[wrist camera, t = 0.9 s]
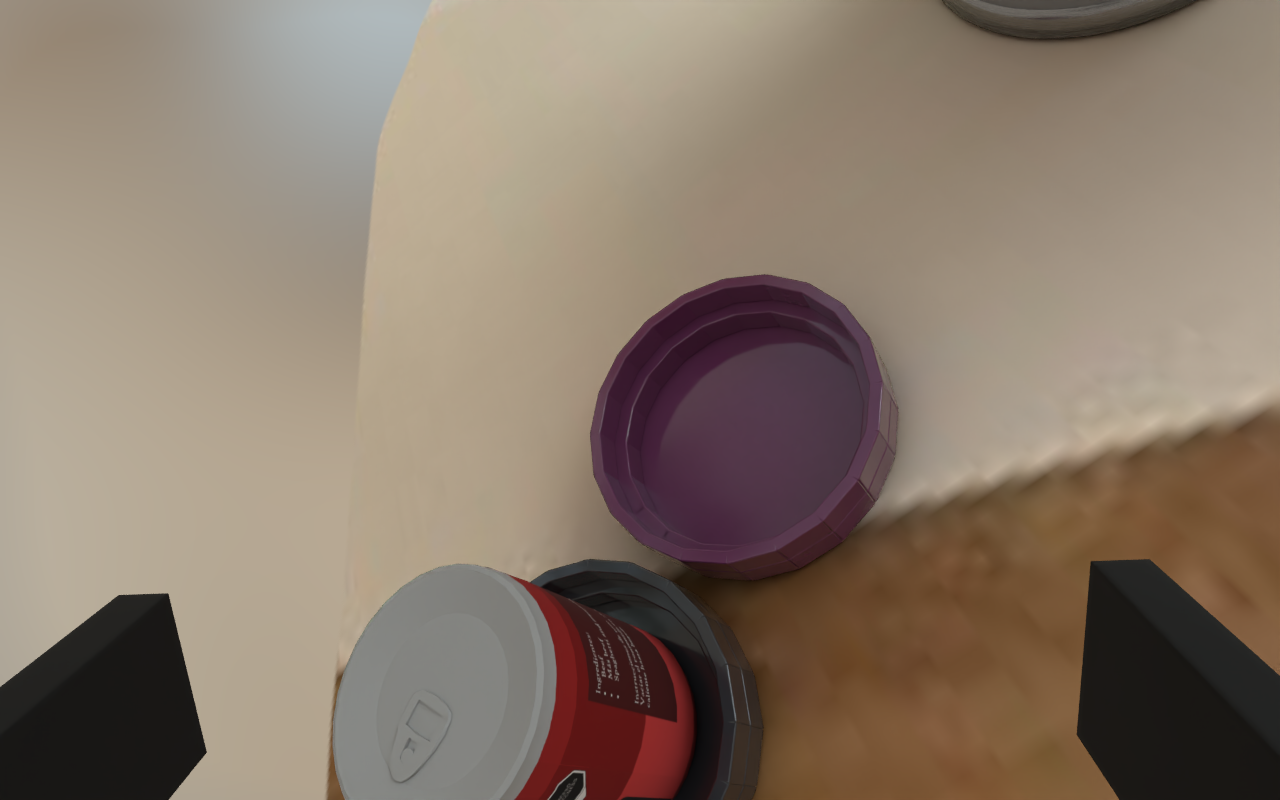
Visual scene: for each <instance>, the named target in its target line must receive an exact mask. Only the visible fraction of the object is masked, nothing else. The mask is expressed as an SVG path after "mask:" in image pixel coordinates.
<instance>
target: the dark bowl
mask: <svg viewBox="0 0 1280 800" xmlns="http://www.w3.org/2000/svg"><path fill="white" fill-rule="evenodd" d="M530 583H532V584H535V585H537V586H539V587H542V588H544V589H546V590H549V591H551V592H554V593H556V594H558V595H561V596H563V597H566V598H568V599H570V600H573V601H575V602H577V603H580V604H582V605H585V606H587V607H589V608H592V609H594V610H597V611H599V612H601V613H604V614H606V615H609V616H611V617H613V618H616V619H618V620H620V621H623V622H625V623H628V624H630V625H632V626H635V627H637V628H640V629H642V630H644V631H646V632H648V633H649V634H651V635H652V636H654V637H655V638H657V639H659V640H660V641H661V642H662V643H663V644H664V645H665V646H666V647H667V648H668V649H669V650H670V651H671V653H672V654H673V655H674V657H675V658H676V660H677V662H678V663H679V665H680V667H681V668H682V670H683V672H684V673H685V675H686V677H687V679H688V682H689V685H690V687H691V690H692V693H693V697H694V702H695V708H696V713H697V737H696V744H695V750H694V756H693V759H692V762H691V765H690V768H689V771H688V775H687V777H686V779H685V781H684V783H683V785H682V786H681V788H680V790H679V792H678V794H677V795H676V797H675V798H674V799H673V800H752V798H753V795H754V793H755V791H756V786H757V782H758V774H759V765H760V756H761V747H762V738H763V730H762V729H763V722H762V716H761V710H760V705H759V699H758V693H757V687H756V681H755V676H754V675H753V671H752V669H751V667H750V665H749V663H748V661H747V659H746V657H745V655H744V653H743V651H742V649H741V647H740V645H739V643H738V641H737V639H736V637H735V635H734V633H733V631H732V630H731V628H730V627H729V626H728V625H727V624H726V623H725V622H724V621H723V620H722V619H721V618H720V617H719V616H718V615H717V614H716V613H715V612H714V611H713V610H712V609H711V608H710V607H709V606H708V605H707V604H706V603H705V602H704V601H703V600H702V599H701V598H700V597H699V596H698V595H696V594H694V593H693V592H691V591H689V590H687V589H685V588H683V587H681V586H680V585H678V584H676V583H674V582H672V581H670V580H668V579H666V578H664V577H662V576H660V575H658V574H655V573H653V572H651V571H649V570H647V569H645V568H643V567H641V566H638V565H636V564H634V563H631V562H624V561H610V560H596V559H589V560H588V559H587V560H583V561H580V562H576V563H573V564H569V565H566V566H562V567H559V568H555V569H552V570H548V571H547V572H545V573H543V574H542V575H540V576H539V577H537V578H536V579H534V580H533V581H531V582H530Z"/></svg>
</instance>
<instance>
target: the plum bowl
mask: <svg viewBox="0 0 1280 800" xmlns="http://www.w3.org/2000/svg"><path fill="white" fill-rule="evenodd" d="M897 424H898V406H897V402H896V399H895V396H894V392H893V389H892V385H891V382H890V379H889V375H888V372H887V369H886V367H885V365H884V363H883V361H882V359H881V357H880V356H879V354H878V352H877V350H876V348H875V346H874V344H873V342H872V341H871V339H870V337H869V336H868V334H867V333H866V332H865V331H864V329H863V328H862V327H861V325H860V324H859V323H858V321H857V320H856V319H855V318H854V316H853V315H852V314H851V312H850V311H849V310H848V309H847V307H846V306H845V305H844V304H843V303H841V302H839V301H838V300H836V299H834V298H833V297H831V296H829V295H828V294H826V293H824V292H823V291H821V290H819V289H818V288H816V287H814V286H813V285H811V284H809V283H807V282H802V281H797V280H792V279H787V278H782V277H777V276H772V275H765V274H764V275H754V276H745V277H735V278H726V279H724V280H723V279H722V280H719V281H716V282H714V283H711V284H709V285H706V286H704V287H701V288H699V289H696V290H694V291H691V292H688V293H686V294H684V295H682V296H680V297H679V298H677V299H676V300H675V301H673V302H672V303H670V304H669V305H668V306H666V307H665V308H663V309H662V310H661V311H659V312H658V313H656V314H655V315H654V316H652V317H651V318H650V319H648V320H647V321H646V322H645V323H644V324H643V325H642V327H641V328H640V329H639V330H638V331H637V332H636V334H635V335H634V336H633V337H632V338H631V339H630V341H629V342H628V343H627V344H626V345H625V346H624V348H623V349H622V350H621V351H620V352H619V354H618V355H617V357H616V359H615V361H614V363H613V365H612V367H611V369H610V371H609V373H608V375H607V377H606V379H605V381H604V383H603V385H602V387H601V389H600V391H599V394H598V398H597V402H596V407H595V412H594V417H593V422H592V427H591V432H590V434H591V435H590V440H591V451H592V462H593V473H594V477H595V479H596V482H597V484H598V486H599V488H600V491H601V493H602V495H603V497H604V500H605V502H606V504H607V506H608V509H609V511H610V513H611V514H612V515H613V516H614V517H615V518H616V519H617V520H618V521H619V522H620V523H621V524H622V525H623V526H624V527H625V528H626V529H627V531H628V532H629V533H630V534H631V535H632V536H633V537H634V538H635V539H636V540H637V541H638V542H640V543H641V544H643V545H644V546H646V547H648V548H650V549H651V550H653V551H655V552H657V553H658V554H660V555H662V556H663V557H665V558H667V559H669V560H670V561H673V562H675V563H677V564H679V565H681V566H684V567H686V568H688V569H690V570H692V571H695V572H697V573H699V574H701V575H703V576H707V577H711V578H724V579H737V580H750V581H751V580H757V579H761V578H765V577H769V576H773V575H777V574H781V573H785V572H789V571H793V570H797V569H799V568H802V567H803V566H805V565H806V564H808V563H810V562H811V561H813V560H814V559H816V558H817V557H819V556H821V555H822V554H824V553H825V552H827V551H829V550H830V549H832V548H833V547H835V546H837V545H838V544H840V543H841V542H842V540H844V539H845V538H846V537H847V536H848V535H849V533H850V532H851V531H852V530H853V529H854V528H855V526H856V525H857V524H858V523H859V522H860V521H861V519H862V518H863V517H864V516H865V515H866V514H867V512H868V511H869V510H870V509H871V508H872V507H873V505H874V504H875V502H876V501H877V499H878V497H879V494H880V492H881V490H882V487H883V485H884V482H885V480H886V478H887V475H888V473H889V471H890V468H891V466H892V463H893V461H894V459H895V457H894V456H895V454H896V439H897Z"/></svg>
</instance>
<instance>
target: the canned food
mask: <svg viewBox="0 0 1280 800" xmlns="http://www.w3.org/2000/svg"><path fill="white" fill-rule="evenodd" d="M696 737H697V713H696V708H695V702H694V697H693V693H692V690H691V687H690V685H689V682H688V679H687V677H686V675H685V673H684V672H683V670H682V668H681V667H680V665H679V663H678V662H677V660H676V658H675V657H674V655H673V654H672V653H671V651H670V650H669V649H668V648H667V647H666V646H665V645H664V644H663V643H662V642H661V641H660V640H659V639H657V638H655V637H654V636H652V635H651V634H649V633H648V632H646V631H644V630H642V629H640V628H637V627H635V626H632V625H630V624H628V623H625V622H623V621H620V620H618V619H616V618H613V617H611V616H609V615H606V614H604V613H601V612H599V611H597V610H594V609H592V608H589V607H587V606H585V605H582V604H580V603H577V602H575V601H573V600H570V599H568V598H566V597H563V596H561V595H558V594H556V593H554V592H551V591H549V590H546V589H544V588H542V587H539V586H537V585H535V584H532V583H530V582H527V581H525V580H522V579H519V578H516V577H513V576H511V575H508V574H506V573H503V572H500V571H497V570H494V569H492V568H489V567H481V566H478V565H469V564H454V565H448V566H443V567H438V568H436V569H433V570H431V571H428V572H426V573H424V574H421V575H419V576H418V577H416V578H415V579H413V580H412V581H410V582H409V583H407V584H406V585H404V586H403V587H401V588H400V589H399V590H398V591H397V592H396V593H395V594H394V595H393V596H391V597H390V598H389V599H388V600H387V601H386V602H385V603H384V604H383V605H382V607H381V608H380V609H379V610H378V612H377V613H376V614H375V615H374V617H373V618H372V619H371V620H370V622H369V623H368V625H367V626H366V628H365V630H364V631H363V633H362V635H361V636H360V638H359V640H358V641H357V643H356V645H355V647H354V649H353V652H352V654H351V656H350V659H349V661H348V663H347V665H346V668H345V671H344V674H343V677H342V681H341V684H340V688H339V691H338V694H337V701H336V707H335V713H334V719H333V753H334V761H335V769H336V774H337V777H338V780H339V784H340V787H341V790H342V794H343V796H344V798H345V800H673V799H674V798H675V797H676V795H677V794H678V792H679V790H680V788H681V786H682V785H683V783H684V781H685V779H686V777H687V775H688V771H689V768H690V765H691V762H692V759H693V756H694V750H695V744H696Z"/></svg>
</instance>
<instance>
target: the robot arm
mask: <svg viewBox="0 0 1280 800" xmlns="http://www.w3.org/2000/svg"><path fill="white" fill-rule="evenodd" d="M942 1H943V2H944V3H945V4H946V5H947V6H948V7H949V8H950V9H951V10H953V11H954V12H955V13H956V14H957V15H959V16H961V17H962V18H964V19H965V20H967V21H969V22H971V23H973V24H975V25H977V26H979V27H982V28H985V29H988V30H990V31H993V32H997V33H1001V34H1006V35H1010V36H1017V37H1025V38H1040V39H1055V38H1072V37H1082V36H1089V35H1095V34H1101V33H1106V32H1110V31H1115V30H1119V29H1123V28H1127V27H1130V26H1133V25H1137V24H1140V23H1144V22H1146V21H1149V20H1152V19H1155V18H1157V17H1160V16H1163V15H1165V14H1168V13H1170V12H1172V11H1175V10H1177V9H1179V8H1181V7H1184V6H1186V5H1188V4H1190V3H1192V2H1194V1H1196V0H942ZM1077 736H1078V737H1079V739H1080V740H1081V742H1082V743H1083V745H1084V746H1085V748H1086V749H1087V751H1088V752H1089V754H1090V755H1091V757H1092V758H1093V760H1094V762H1095V763H1096V765H1097V766H1098V768H1099V769H1100V771H1101V772H1102V774H1103V775H1104V777H1105V778H1106V780H1107V781H1108V783H1109V784H1110V786H1111V787H1112V789H1113V790H1114V792H1115V793H1116V795H1117V796H1118V798H1119V800H1280V676H1279V675H1278V674H1277V673H1276V672H1275V671H1274V670H1273V669H1272V668H1270V667H1269V666H1268V665H1267V664H1266V663H1265V662H1264V661H1263V660H1261V659H1260V658H1259V657H1258V656H1257V655H1256V654H1255V653H1254V652H1253V651H1251V650H1250V649H1249V648H1248V647H1247V646H1246V645H1245V644H1244V643H1242V642H1241V641H1240V640H1239V639H1238V638H1237V637H1236V636H1235V635H1234V634H1232V633H1231V632H1230V631H1229V630H1228V629H1227V628H1226V627H1225V626H1223V625H1222V624H1221V623H1220V622H1219V621H1218V620H1217V619H1216V618H1215V617H1213V616H1212V615H1211V614H1210V613H1209V612H1208V611H1207V610H1206V609H1204V608H1203V607H1202V606H1201V605H1200V604H1199V603H1198V602H1197V601H1196V600H1194V599H1193V598H1192V597H1191V596H1190V595H1189V594H1188V593H1187V592H1185V591H1184V590H1183V589H1182V588H1181V587H1180V586H1179V585H1178V584H1177V583H1175V582H1174V581H1173V580H1172V579H1171V578H1170V577H1169V576H1168V575H1166V574H1165V573H1164V572H1163V571H1162V570H1161V569H1160V568H1159V567H1158V566H1156V565H1155V564H1154V563H1153V562H1152V561H1151V560H1150V559H1144V560H1115V561H1091V566H1090V578H1089V590H1088V603H1087V615H1086V627H1085V640H1084V652H1083V665H1082V677H1081V689H1080V702H1079V714H1078V726H1077ZM206 753H207V752H206V748H205V743H204V739H203V735H202V731H201V727H200V723H199V719H198V714H197V710H196V706H195V702H194V698H193V694H192V690H191V686H190V681H189V677H188V673H187V669H186V665H185V661H184V657H183V653H182V648H181V644H180V640H179V636H178V632H177V628H176V623H175V619H174V615H173V611H172V607H171V603H170V599H169V594H140V595H139V594H138V595H119V596H117V597H116V598H114V599H113V600H112V601H111V602H109V603H108V604H107V605H105V606H104V607H103V608H102V609H100V610H99V611H98V612H96V614H94V615H93V616H91V617H90V618H89V619H87V620H86V621H85V622H84V623H82V624H81V625H80V626H79V627H77V628H76V629H75V630H73V631H72V632H71V633H69V634H68V635H67V636H65V637H64V638H63V639H62V640H60V641H59V642H58V643H57V644H55V645H54V646H53V647H51V648H50V649H49V650H47V651H46V652H45V653H44V654H42V655H41V656H40V657H38V658H37V659H36V660H35V661H34V662H32V663H31V664H29V665H28V666H27V667H25V668H24V669H23V670H22V671H20V672H19V673H18V674H16V675H15V676H14V677H13V678H11V679H10V680H9V681H7V682H6V683H5V684H4V685H2V686H1V687H0V800H169V798H170V797H171V796H172V795H173V793H174V792H175V791H176V790H177V788H178V787H179V786H180V785H181V783H182V782H183V781H184V780H185V779H186V777H187V776H188V775H189V774H190V772H191V771H192V770H193V769H194V767H195V766H196V765H197V763H198V762H199V761H200V760H201V759H202V758H203V756H204V755H205V754H206Z"/></svg>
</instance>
